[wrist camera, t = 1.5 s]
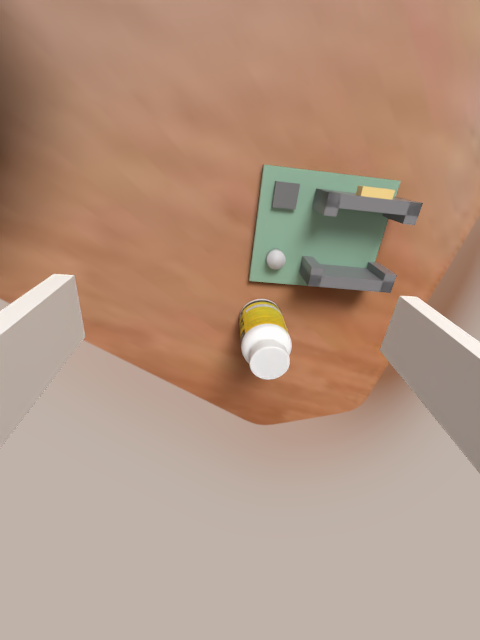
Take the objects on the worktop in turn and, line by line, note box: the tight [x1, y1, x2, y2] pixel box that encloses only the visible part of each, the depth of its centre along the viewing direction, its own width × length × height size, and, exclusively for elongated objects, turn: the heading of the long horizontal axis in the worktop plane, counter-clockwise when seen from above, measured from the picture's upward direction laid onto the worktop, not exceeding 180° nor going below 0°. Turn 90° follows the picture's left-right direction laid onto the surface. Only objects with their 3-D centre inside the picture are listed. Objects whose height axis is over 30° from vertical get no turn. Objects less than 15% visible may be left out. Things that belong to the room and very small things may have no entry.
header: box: [299, 185, 423, 293], centre depth 31 cm, size 9×10×4 cm
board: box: [249, 165, 400, 287], centre depth 33 cm, size 14×12×2 cm
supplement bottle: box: [239, 299, 292, 379], centre depth 34 cm, size 5×5×10 cm
